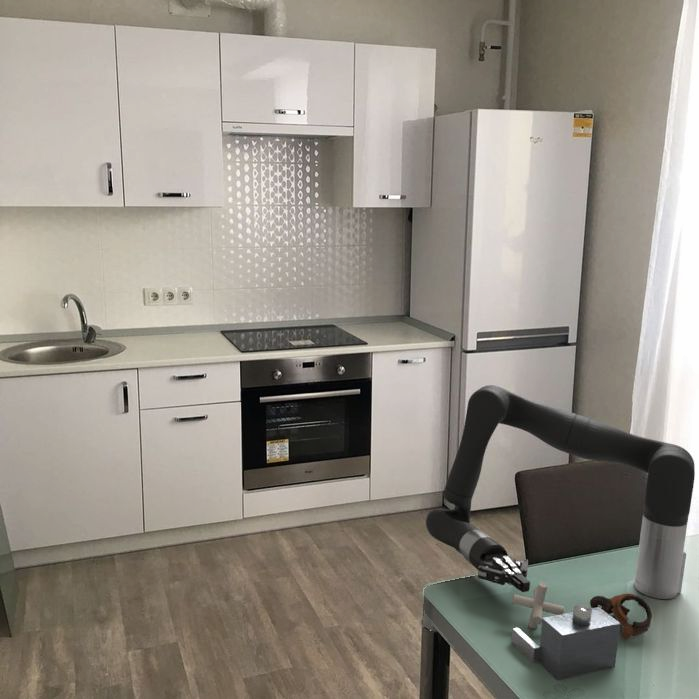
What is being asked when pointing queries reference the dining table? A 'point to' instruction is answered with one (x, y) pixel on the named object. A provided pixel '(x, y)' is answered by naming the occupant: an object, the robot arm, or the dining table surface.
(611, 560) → the dining table surface
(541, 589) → the pipe connector
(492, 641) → the dining table surface
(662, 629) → the dining table surface
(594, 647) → the grey boxy knob-topped device
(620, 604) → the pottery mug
